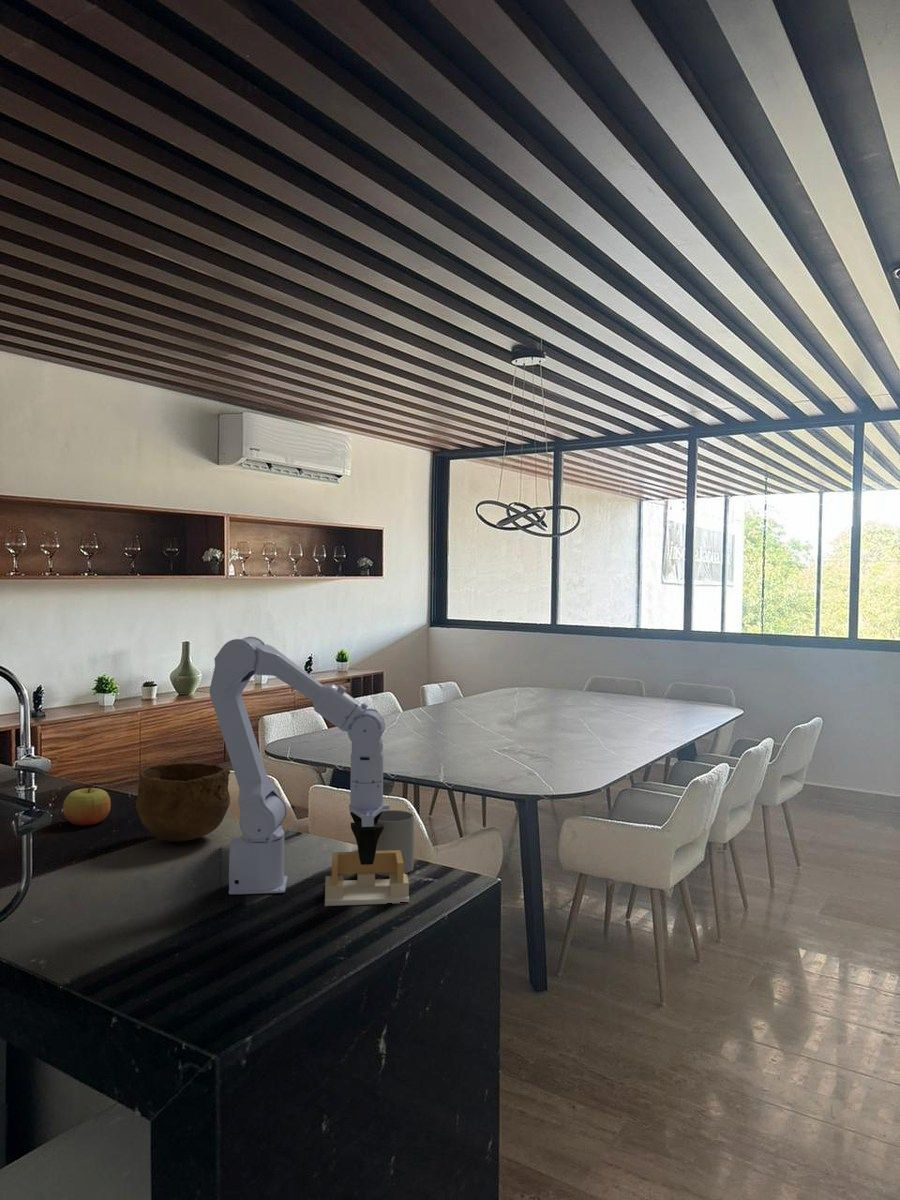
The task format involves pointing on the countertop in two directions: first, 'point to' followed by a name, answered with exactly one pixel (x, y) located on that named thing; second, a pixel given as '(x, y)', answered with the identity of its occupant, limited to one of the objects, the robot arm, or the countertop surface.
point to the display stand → (366, 890)
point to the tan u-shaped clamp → (382, 863)
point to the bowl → (182, 799)
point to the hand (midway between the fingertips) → (366, 857)
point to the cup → (397, 836)
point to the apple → (87, 806)
